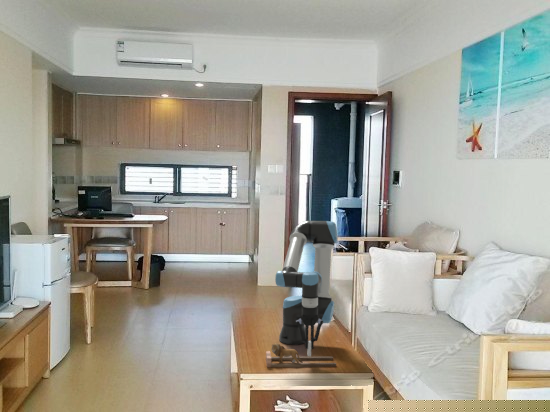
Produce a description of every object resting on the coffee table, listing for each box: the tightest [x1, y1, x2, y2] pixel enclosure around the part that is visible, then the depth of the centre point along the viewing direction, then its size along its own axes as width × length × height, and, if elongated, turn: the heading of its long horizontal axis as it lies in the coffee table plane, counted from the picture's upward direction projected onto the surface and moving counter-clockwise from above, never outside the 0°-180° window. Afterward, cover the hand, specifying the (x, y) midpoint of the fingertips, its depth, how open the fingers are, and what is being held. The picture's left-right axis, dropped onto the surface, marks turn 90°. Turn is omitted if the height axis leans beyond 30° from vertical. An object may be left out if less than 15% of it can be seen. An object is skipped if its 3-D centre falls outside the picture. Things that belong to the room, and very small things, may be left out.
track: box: [265, 350, 337, 368], centre depth 249 cm, size 10×32×4 cm, turn 94°
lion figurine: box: [271, 343, 304, 363], centre depth 249 cm, size 15×5×9 cm, turn 85°
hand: (309, 355), depth 250 cm, fingers closed
